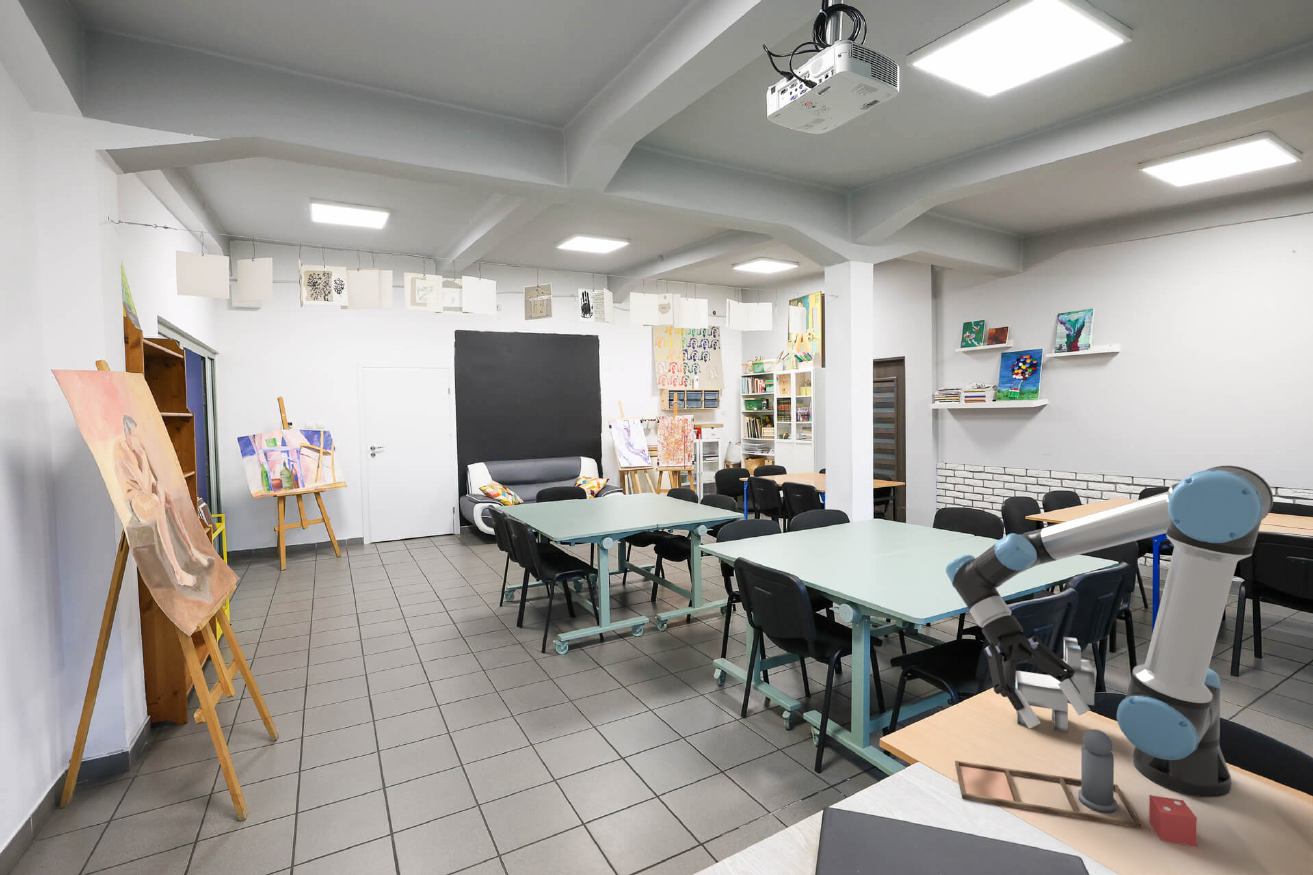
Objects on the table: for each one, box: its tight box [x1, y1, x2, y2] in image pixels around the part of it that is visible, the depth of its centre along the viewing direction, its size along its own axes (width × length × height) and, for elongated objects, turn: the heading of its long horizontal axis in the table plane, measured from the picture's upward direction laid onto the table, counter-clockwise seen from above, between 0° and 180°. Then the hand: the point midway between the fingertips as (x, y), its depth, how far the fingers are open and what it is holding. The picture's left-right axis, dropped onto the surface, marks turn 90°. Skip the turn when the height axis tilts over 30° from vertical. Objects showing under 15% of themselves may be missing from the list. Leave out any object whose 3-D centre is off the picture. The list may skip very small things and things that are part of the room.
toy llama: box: [1005, 636, 1095, 734], centre depth 147 cm, size 8×18×20 cm, turn 62°
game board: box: [954, 760, 1142, 829], centre depth 121 cm, size 29×12×1 cm, turn 70°
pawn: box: [1077, 728, 1118, 814], centre depth 118 cm, size 6×6×14 cm
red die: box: [1148, 794, 1198, 847], centre depth 109 cm, size 5×5×5 cm
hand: (1060, 719), depth 124 cm, fingers open, 13 cm apart
